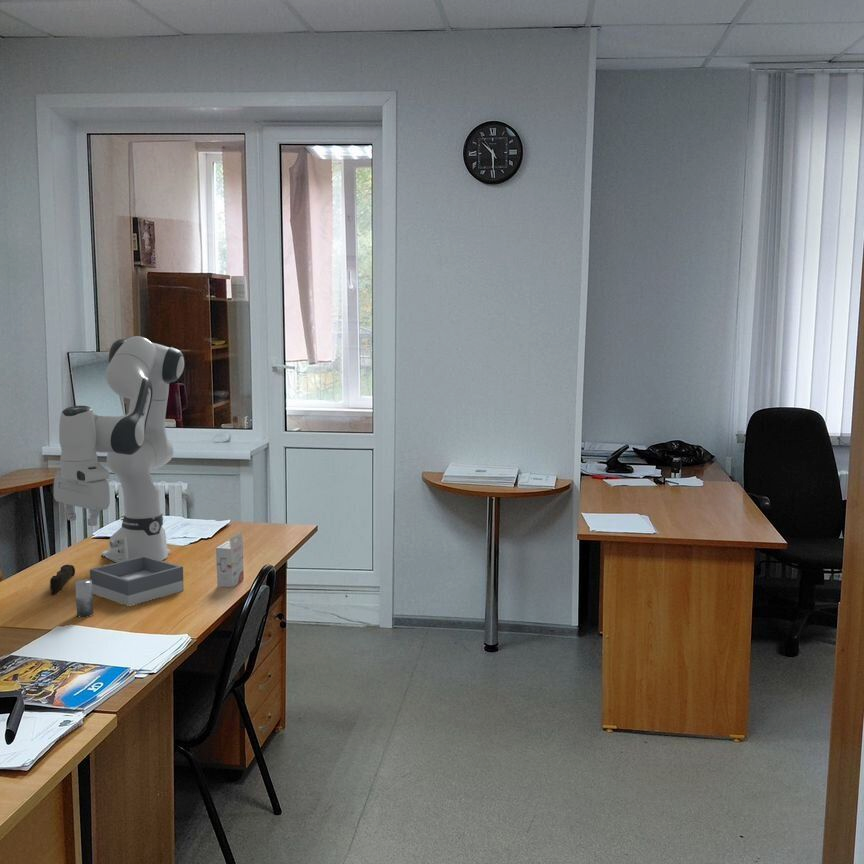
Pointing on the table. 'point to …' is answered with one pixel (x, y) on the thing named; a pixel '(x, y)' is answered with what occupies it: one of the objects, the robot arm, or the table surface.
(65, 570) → the hand tool
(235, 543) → the ink cartridge box
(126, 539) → the robot arm
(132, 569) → the open gray box
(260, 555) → the table surface
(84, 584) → the peg
